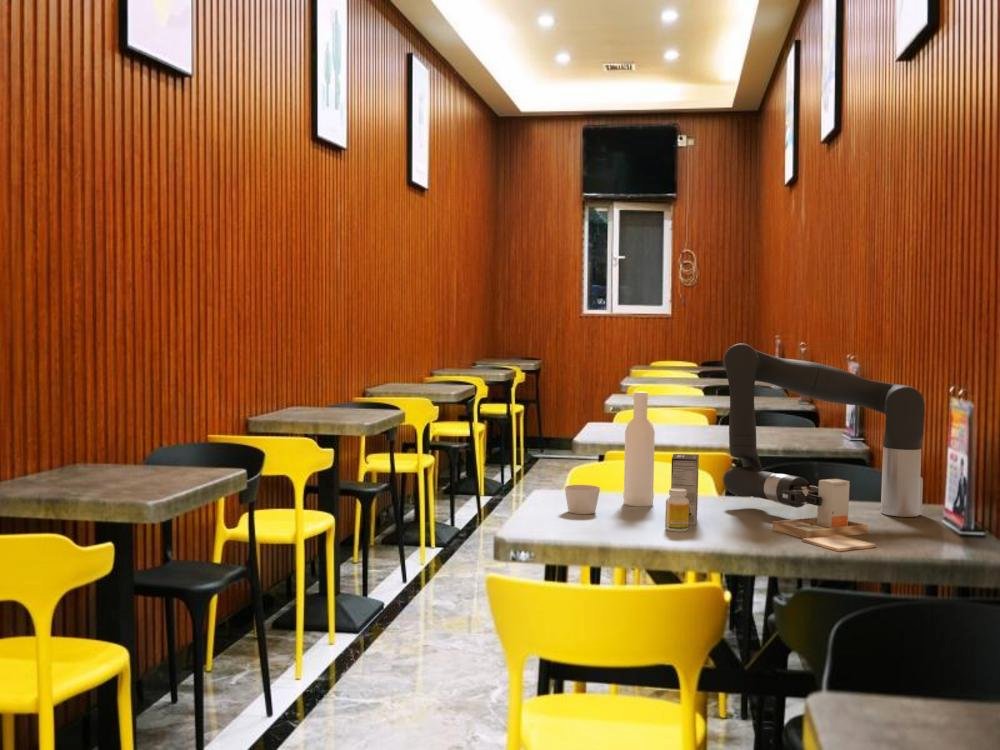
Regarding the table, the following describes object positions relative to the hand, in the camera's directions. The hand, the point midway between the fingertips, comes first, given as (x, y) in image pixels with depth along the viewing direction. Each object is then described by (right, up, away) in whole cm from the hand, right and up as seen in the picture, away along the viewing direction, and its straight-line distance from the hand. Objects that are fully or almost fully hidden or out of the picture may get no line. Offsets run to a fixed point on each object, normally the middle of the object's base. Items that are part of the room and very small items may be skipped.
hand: (834, 500), depth 243 cm
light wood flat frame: (-4, -7, -1) cm, 8 cm away
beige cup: (-58, -6, +20) cm, 61 cm away
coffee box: (-34, -6, +10) cm, 36 cm away
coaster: (-4, -8, -15) cm, 17 cm away
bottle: (-42, -5, +32) cm, 53 cm away
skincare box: (0, -7, +1) cm, 8 cm away
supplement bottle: (-37, -7, -1) cm, 38 cm away
